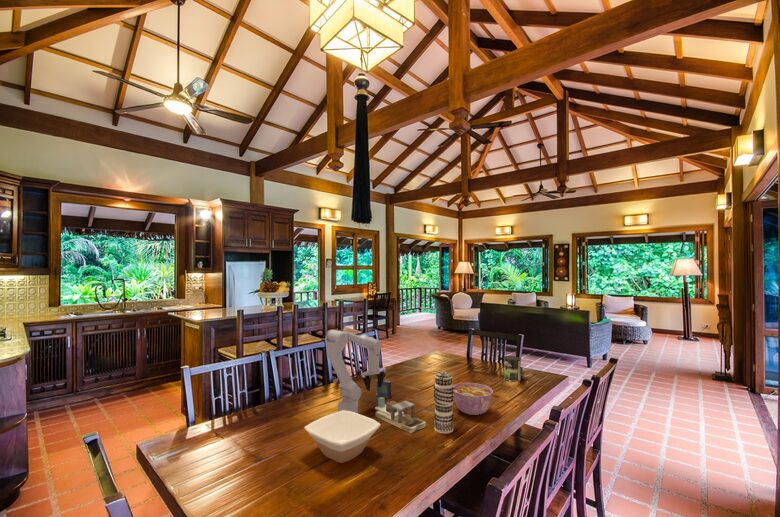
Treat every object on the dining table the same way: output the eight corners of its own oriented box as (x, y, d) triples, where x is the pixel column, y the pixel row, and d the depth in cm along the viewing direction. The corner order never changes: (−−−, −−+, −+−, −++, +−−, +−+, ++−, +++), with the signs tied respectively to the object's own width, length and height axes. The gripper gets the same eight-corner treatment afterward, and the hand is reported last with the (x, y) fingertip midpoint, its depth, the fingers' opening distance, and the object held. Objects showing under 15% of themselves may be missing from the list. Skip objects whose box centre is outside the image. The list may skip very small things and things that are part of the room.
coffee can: (512, 382, 222) (511, 360, 222) (500, 378, 231) (500, 356, 231) (524, 380, 226) (524, 358, 226) (512, 376, 235) (512, 355, 236)
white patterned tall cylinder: (438, 435, 153) (438, 377, 153) (430, 425, 162) (430, 371, 162) (457, 432, 155) (457, 375, 156) (448, 423, 164) (448, 369, 165)
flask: (375, 396, 199) (375, 377, 199) (377, 394, 201) (377, 375, 201) (390, 398, 195) (390, 379, 195) (392, 397, 197) (392, 377, 198)
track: (410, 433, 154) (410, 414, 154) (375, 416, 172) (375, 399, 172) (426, 426, 161) (426, 408, 161) (390, 410, 179) (390, 394, 179)
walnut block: (391, 413, 168) (391, 405, 168) (386, 411, 171) (386, 402, 171) (397, 411, 171) (397, 402, 171) (392, 408, 173) (392, 400, 174)
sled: (394, 418, 165) (394, 407, 165) (374, 409, 175) (374, 398, 175) (403, 414, 169) (403, 403, 169) (384, 405, 179) (384, 395, 180)
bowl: (343, 432, 155) (343, 407, 156) (386, 450, 140) (386, 423, 140) (298, 454, 137) (298, 426, 137) (341, 478, 122) (342, 447, 122)
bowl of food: (495, 422, 165) (494, 397, 165) (451, 419, 169) (451, 394, 169) (491, 406, 184) (491, 384, 185) (452, 403, 188) (452, 381, 189)
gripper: (367, 366, 175) (367, 394, 174) (389, 361, 184) (389, 387, 184) (359, 363, 180) (359, 390, 180) (380, 358, 190) (380, 384, 189)
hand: (373, 388), depth 182 cm, fingers open, 7 cm apart
